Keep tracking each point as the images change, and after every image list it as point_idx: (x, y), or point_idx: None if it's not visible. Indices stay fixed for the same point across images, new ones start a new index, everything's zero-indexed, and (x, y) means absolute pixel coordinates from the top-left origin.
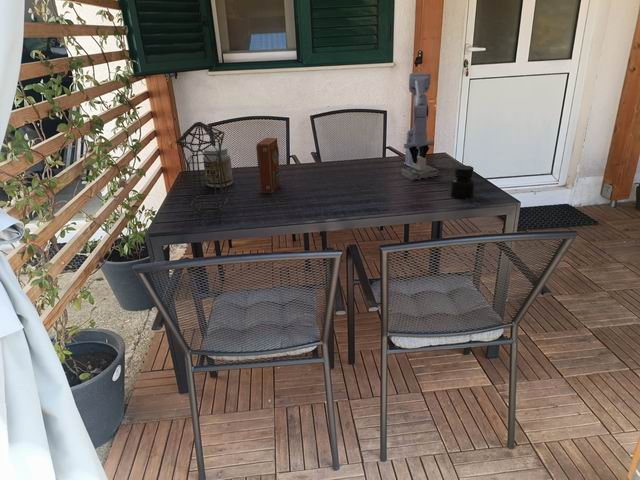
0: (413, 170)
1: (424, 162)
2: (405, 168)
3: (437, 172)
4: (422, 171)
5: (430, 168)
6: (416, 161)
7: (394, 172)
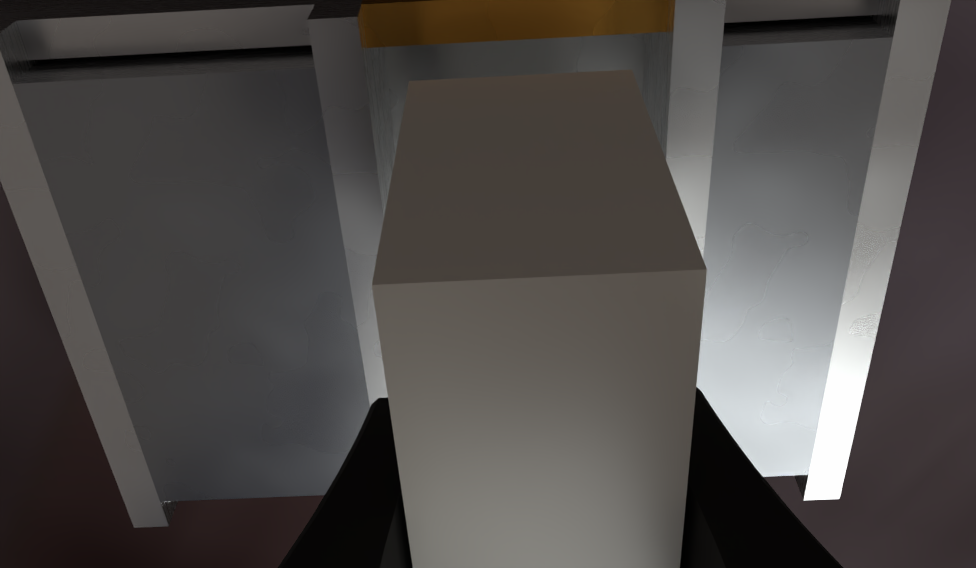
0: None
1: (469, 198)
2: None
3: (10, 13)
4: None
5: (141, 278)
6: None
7: None
